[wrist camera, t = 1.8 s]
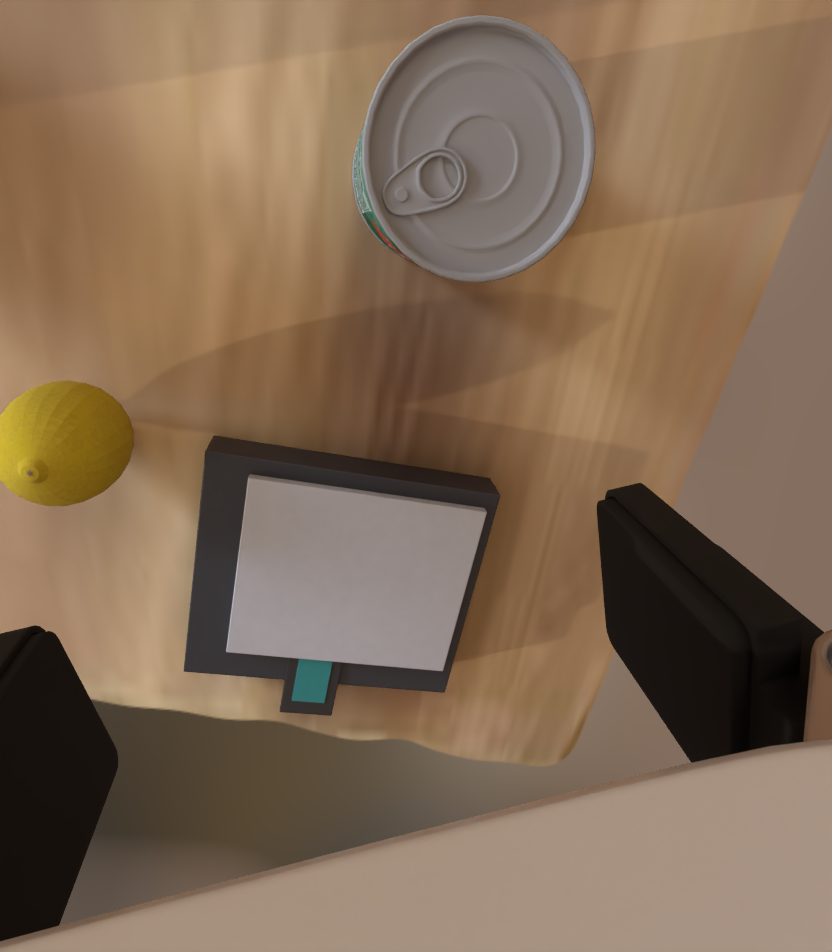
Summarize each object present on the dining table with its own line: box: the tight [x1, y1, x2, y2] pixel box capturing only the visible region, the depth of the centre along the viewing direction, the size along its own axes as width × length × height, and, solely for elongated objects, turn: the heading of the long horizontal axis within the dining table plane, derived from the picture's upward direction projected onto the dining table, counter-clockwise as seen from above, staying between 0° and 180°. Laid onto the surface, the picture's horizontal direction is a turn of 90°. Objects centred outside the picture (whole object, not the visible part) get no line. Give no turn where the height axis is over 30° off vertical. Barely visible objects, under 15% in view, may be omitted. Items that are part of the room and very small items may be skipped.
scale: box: [184, 436, 500, 715], centre depth 37 cm, size 16×16×3 cm
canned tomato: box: [352, 15, 595, 282], centre depth 26 cm, size 8×8×11 cm
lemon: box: [0, 381, 134, 506], centre depth 29 cm, size 6×6×8 cm
